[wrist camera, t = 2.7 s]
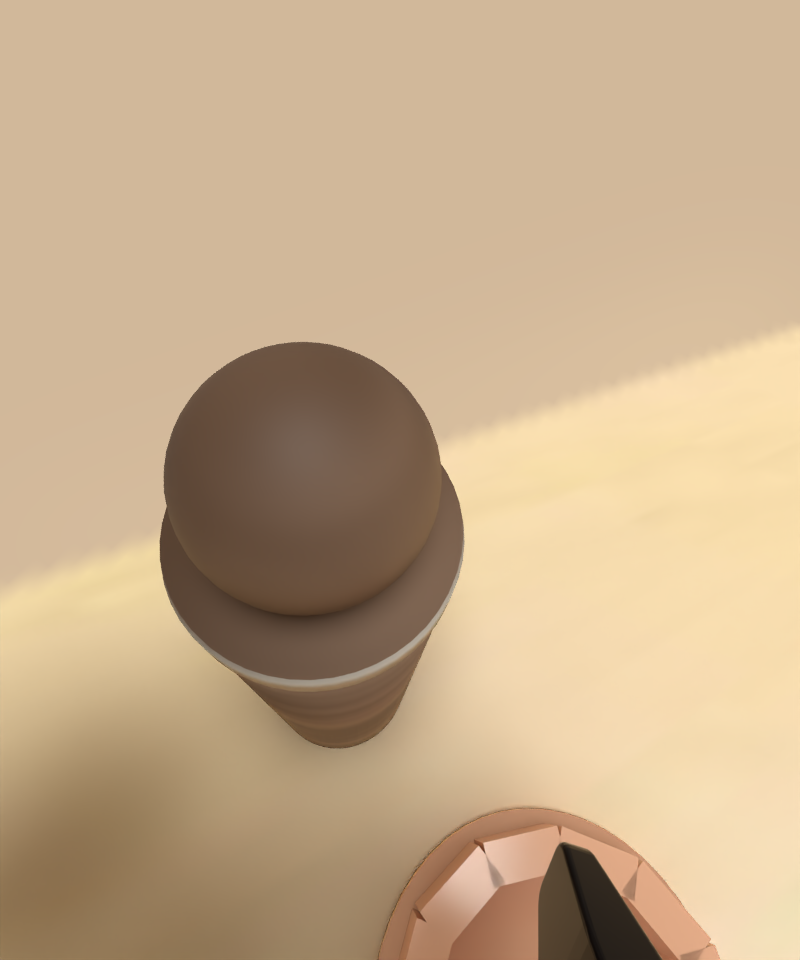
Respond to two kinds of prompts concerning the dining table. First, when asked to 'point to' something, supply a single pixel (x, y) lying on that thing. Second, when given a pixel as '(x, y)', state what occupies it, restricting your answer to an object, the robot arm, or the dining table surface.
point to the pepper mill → (310, 534)
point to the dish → (523, 892)
